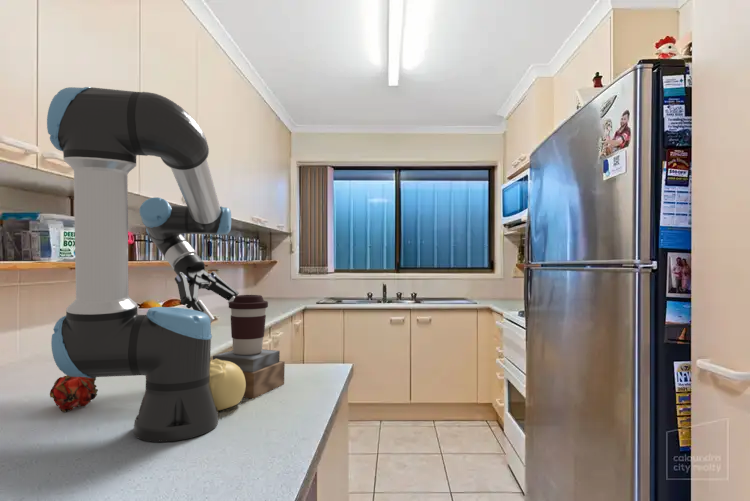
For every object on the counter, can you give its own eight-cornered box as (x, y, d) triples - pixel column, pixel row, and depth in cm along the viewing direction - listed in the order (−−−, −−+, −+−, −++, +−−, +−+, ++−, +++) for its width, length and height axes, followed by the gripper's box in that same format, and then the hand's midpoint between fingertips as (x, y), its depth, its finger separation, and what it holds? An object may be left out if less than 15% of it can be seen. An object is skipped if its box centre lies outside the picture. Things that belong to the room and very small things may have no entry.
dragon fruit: (82, 405, 104) (73, 430, 93) (46, 388, 101) (32, 412, 90) (107, 375, 106) (101, 396, 95) (73, 357, 102) (62, 377, 91)
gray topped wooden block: (253, 398, 106) (254, 361, 106) (206, 392, 110) (206, 356, 111) (284, 383, 119) (284, 350, 119) (240, 378, 123) (241, 346, 124)
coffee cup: (243, 358, 108) (244, 297, 109) (219, 353, 114) (221, 295, 115) (274, 352, 116) (275, 295, 117) (251, 347, 122) (252, 293, 123)
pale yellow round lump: (181, 405, 100) (183, 358, 100) (233, 396, 108) (234, 351, 108) (198, 420, 91) (200, 367, 92) (253, 408, 99) (254, 360, 99)
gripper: (208, 270, 136) (248, 322, 130) (140, 272, 112) (185, 335, 107) (223, 253, 134) (263, 305, 129) (157, 251, 111) (203, 315, 105)
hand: (228, 319), depth 118 cm, fingers open, 13 cm apart
